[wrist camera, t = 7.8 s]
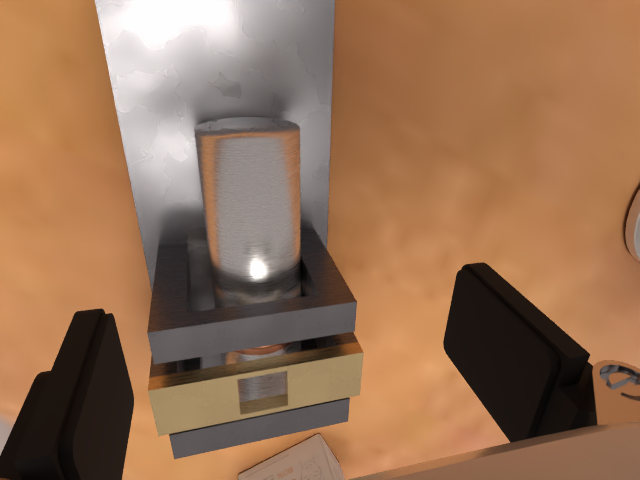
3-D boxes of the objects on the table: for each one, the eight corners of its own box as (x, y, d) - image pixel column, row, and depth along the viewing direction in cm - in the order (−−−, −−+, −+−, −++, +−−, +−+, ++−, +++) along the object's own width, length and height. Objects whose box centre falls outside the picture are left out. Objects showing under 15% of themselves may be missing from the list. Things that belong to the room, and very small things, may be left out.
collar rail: (331, -9, 22) (408, -19, 14) (320, 362, 33) (359, 465, 26) (93, -18, 19) (33, -36, 12) (172, 389, 31) (167, 512, 23)
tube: (178, 123, 21) (218, 147, 17) (269, 113, 24) (321, 132, 20) (213, 388, 30) (246, 442, 26) (278, 359, 32) (316, 404, 28)
